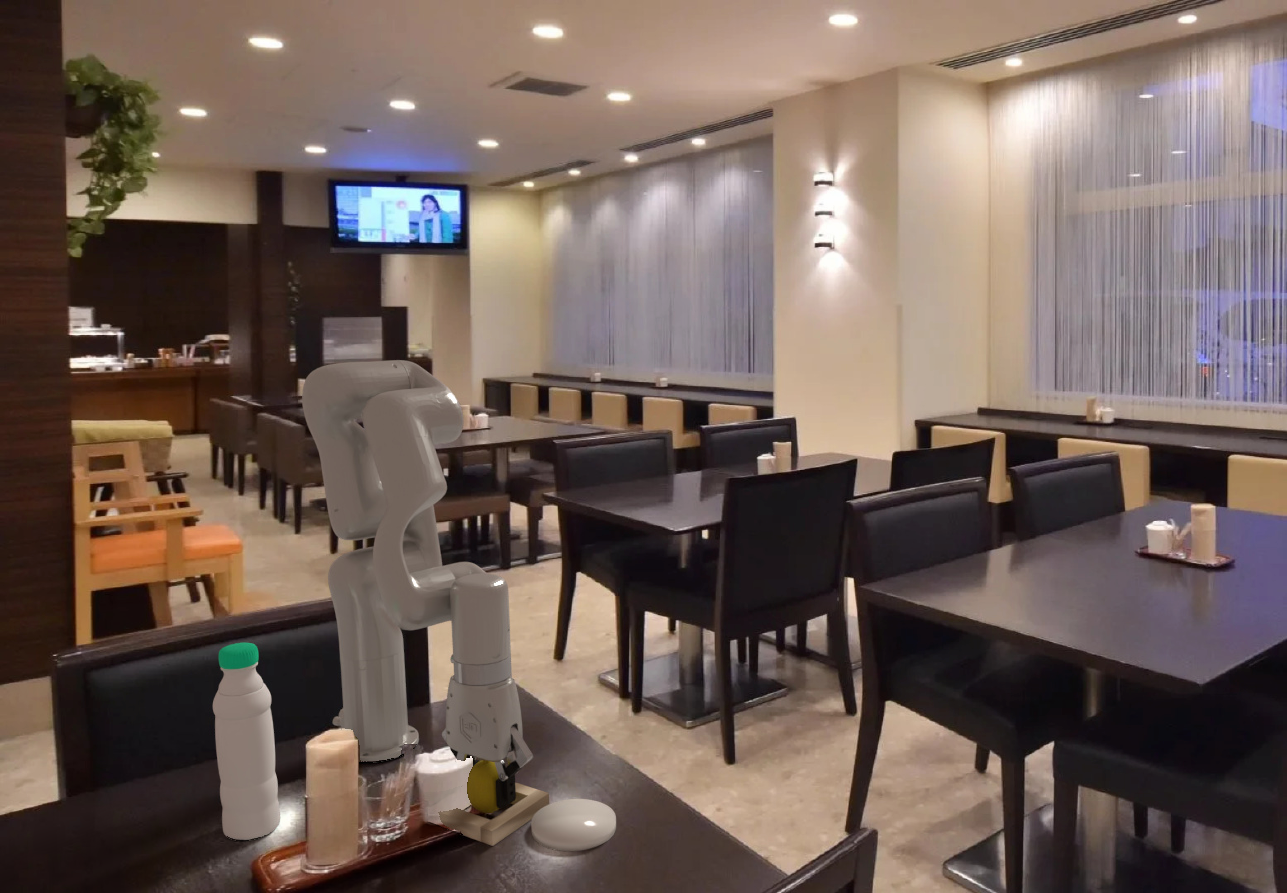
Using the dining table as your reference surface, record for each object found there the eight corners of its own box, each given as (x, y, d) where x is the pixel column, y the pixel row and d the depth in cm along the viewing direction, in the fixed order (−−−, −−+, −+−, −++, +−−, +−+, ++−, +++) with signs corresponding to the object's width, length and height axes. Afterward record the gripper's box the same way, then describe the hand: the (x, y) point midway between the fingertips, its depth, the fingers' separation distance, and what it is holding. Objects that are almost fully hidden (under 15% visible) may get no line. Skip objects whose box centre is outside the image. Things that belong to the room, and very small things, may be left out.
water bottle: (292, 822, 130) (279, 642, 127) (248, 848, 124) (233, 659, 121) (255, 811, 133) (241, 634, 130) (211, 835, 127) (195, 651, 124)
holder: (427, 822, 130) (426, 807, 129) (486, 786, 139) (485, 773, 139) (492, 846, 123) (492, 831, 123) (549, 807, 133) (548, 793, 133)
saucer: (514, 836, 126) (513, 827, 125) (566, 799, 135) (565, 791, 135) (582, 860, 120) (582, 851, 120) (632, 820, 129) (632, 812, 129)
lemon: (501, 826, 128) (499, 769, 127) (462, 823, 129) (459, 766, 128) (515, 806, 133) (513, 750, 132) (477, 802, 134) (474, 747, 133)
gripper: (415, 666, 130) (422, 794, 132) (514, 690, 121) (519, 827, 123) (455, 649, 136) (460, 771, 139) (551, 671, 127) (556, 802, 129)
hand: (488, 796), depth 131 cm, fingers closed on lemon, 5 cm apart
